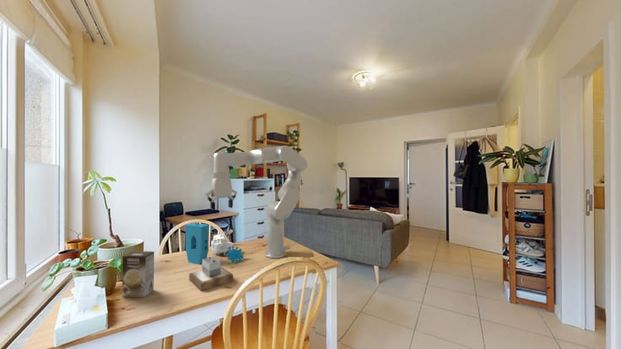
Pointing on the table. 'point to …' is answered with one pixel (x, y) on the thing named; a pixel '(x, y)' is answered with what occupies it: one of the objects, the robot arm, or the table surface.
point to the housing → (211, 266)
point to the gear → (235, 254)
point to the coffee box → (138, 274)
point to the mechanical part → (221, 244)
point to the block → (197, 242)
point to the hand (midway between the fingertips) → (222, 208)
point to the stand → (210, 279)
